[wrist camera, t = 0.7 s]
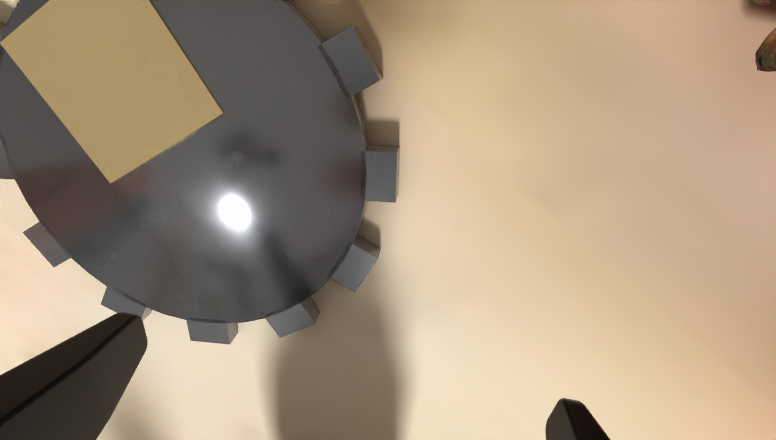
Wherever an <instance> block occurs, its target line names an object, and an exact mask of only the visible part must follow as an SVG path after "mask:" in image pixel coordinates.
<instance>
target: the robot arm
mask: <svg viewBox="0 0 776 440" xmlns="http://www.w3.org/2000/svg"><path fill="white" fill-rule="evenodd" d="M146 348H147V336H146V333H145V329H144V325H143V321H142V318H141V317H140V316H139V315H135V314H130V313H125V312H120V313H117V314H115V315H113V316H111V317H109V318H107V319H105V320H103V321H102V322H100V323H98V324H96V325H94V326H92V327H90V328H88V329H86V330H85V331H83V332H81V333H79V334H77V335H75V336H73V337H71V338H69V339H68V340H66V341H64V342H62V343H60V344H58V345H56V346H54V347H53V348H51V349H49V350H47V351H45V352H43V353H41V354H39V355H37V356H36V357H34V358H32V359H30V360H28V361H26V362H24V363H22V364H20V365H19V366H17V367H15V368H13V369H11V370H9V371H7V372H5V373H4V374H2V375H0V440H96V439H97V437H98V436H99V434H100V433H101V431H102V430H103V428H104V426H105V425H106V423H107V422H108V420H109V419H110V417H111V415H112V413H113V411H114V410H115V408H116V406H117V404H118V402H119V400H120V398H121V397H122V395H123V393H124V391H125V389H126V387H127V385H128V383H129V381H130V380H131V378H132V376H133V374H134V372H135V370H136V368H137V366H138V364H139V363H140V361H141V359H142V357H143V355H144V353H145V351H146ZM546 440H610V438H609V437H608V436H607V434H606V433H605V432H604V430H603V429H602V428H601V426H600V425H599V424H598V422H597V421H596V420H595V418H594V417H593V416H592V414H591V413H590V412H589V410H588V409H587V408H586V406H585V405H584V404H583V403H581V402H580V401H576V400H571V399H566V398H562V399H560V400H559V401H558V402H557V404H556V406H555V407H554V409H553V411H552V413H551V414H550V416H549V418H548V420H547V423H546Z"/></svg>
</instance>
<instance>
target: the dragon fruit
mask: <svg viewBox="0 0 776 440" xmlns="http://www.w3.org/2000/svg"><path fill="white" fill-rule="evenodd" d="M752 2H753V3H755V4H757V5H760V6H763V5H767V4H771V1H770V0H752ZM756 65H757V70H760V71H767V72H770V71H776V28H775V29H774V30H773V31H772V32H771V33H770V34H769V35H768V36H767V37H766V39H765V40H764V42H763V43H762V44H761V46H760V47H759V49H758V50H757V52H756Z"/></svg>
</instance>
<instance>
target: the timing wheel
mask: <svg viewBox="0 0 776 440" xmlns="http://www.w3.org/2000/svg"><path fill="white" fill-rule="evenodd" d="M382 78H383V77H382V75H381V73H380V71H379V69H378V67H377V65H376V63H375V61H374V59H373V57H372V55H371V53H370V52H369V50H368V48H367V46H366V44H365V42H364V40H363V38H362V36H361V34H360V32H359V30H358V29H357V27H356V26H353V25H351V26H349V27H348V28H346V29H344V30H343V31H341V32H340V33H338V34H337V35H335V36H333V37H332V38H330V39H329V40H327V41H325V40H324V38H323V37H322V36H321V35H320V33H319V32H318V31H317V30H316V29H315V27H314V26H313V25H312V24H311V22H310V21H309V20H308V19H307V18H306V17H305V16H304V15H303V14H302V13H301V12H300V11H299V10H298V9H297V8H296V7H295V6H293V5H292V4H291V3H290V2H289V1H288V0H20V2H19V3H18V5H17V6H16V8H15V9H14V11H13V12H12V14H11V16H10V19H9V21H8V23H7V26H6V25H4V24H2V23H1V22H0V179H15V180H16V182H17V184H18V186H19V188H20V190H21V192H22V194H23V196H24V198H25V199H26V201H27V203H28V204H29V206H30V207H31V209H32V211H33V212H34V214H35V215H36V217H37V218H38V220H39V221H40V222H39V223H37V224H35V225H34V226H32V227H31V228H29V229H27V230H26V231H24V232H23V233H24V234H25V236H26V237H27V238H28V239H29V240H30V241H31V242H32V243H33V244H34V246H35V247H36V248H37V249H38V250H39V251H40V252H41V253H42V255H43V256H44V257H45V258H46V259H47V260H48V261H49V262H50V263H51V265H52V266H53V267H55V266H57V265H59V264H61V263H62V262H64V261H66V260H68V259H69V258H72V259H73V260H74V261H76V262H77V263H78V264H79V265H80V266H81V267H82V268H84V269H85V270H86V271H87V272H88V273H89V274H91V275H92V276H94V277H95V278H96V279H98V280H99V281H100V282H102V283H103V284H105V285H106V286H107V288H106V291H105V294H104V297H103V299H102V302H101V305H103V306H105V307H107V308H109V309H111V310H113V311H115V312H116V313H120V312H125V313H130V314H135V315H139V316H140V317H141V318H142V321H143V320H144V319H145V318H146V317H147V316H148V315H149V314H150V313H151V311H152V310H155V311H157V312H160V313H163V314H166V315H169V316H173V317H177V318H181V319H185V320H187V325H188V330H189V335H190V340H191V341H201V342H211V343H222V344H230V343H231V342H232V341H233V339H234V338H235V336H236V335H237V333H238V327H237V323H240V322H249V321H254V320H258V319H263V318H266V320H267V321H268V322H269V324H270V325H271V326H272V328H273V329H274V330H275V332H276V333H277V334H278V336H279V337H283V336H285V335H288V334H290V333H293V332H295V331H298V330H300V329H302V328H305V327H307V326H310V325H312V324H315V322H316V320H317V317H318V315H319V313H320V311H319V309H318V308H317V307H316V305H315V304H314V302H313V301H312V299H311V298H310V296H311V295H312V294H314V293H315V292H316V291H318V290H319V289H320V288H321V287H322V286H323V285H324V284H325V283H326V282H327V281H328V280H329V279H330V278H331V279H333V280H335V281H336V282H338V283H340V284H341V285H343V286H345V287H347V288H348V289H350V290H352V291H354V292H355V291H356V289H357V288H358V286H359V285H360V283H361V282H362V281H363V279H364V278H365V276H366V275H367V273H368V272H369V270H370V269H371V268H372V266H373V265H374V263H375V262H376V260H377V259H378V256H379V252H380V248H379V247H377V246H375V245H374V244H372V243H370V242H368V241H367V240H365V239H363V238H362V237H360V236H358V235H357V232H358V230H359V227H360V224H361V221H362V219H363V216H364V212H365V208H366V203H367V201H380V202H396V200H397V196H398V176H399V147H395V146H374V145H369V144H368V139H367V133H366V128H365V123H364V119H363V116H362V113H361V110H360V107H359V103H358V100H357V97H356V94H357V93H358V92H360V91H362V90H363V89H365V88H367V87H369V86H370V85H372V84H374V83H376V82H377V81H379V80H381V79H382Z"/></svg>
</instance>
